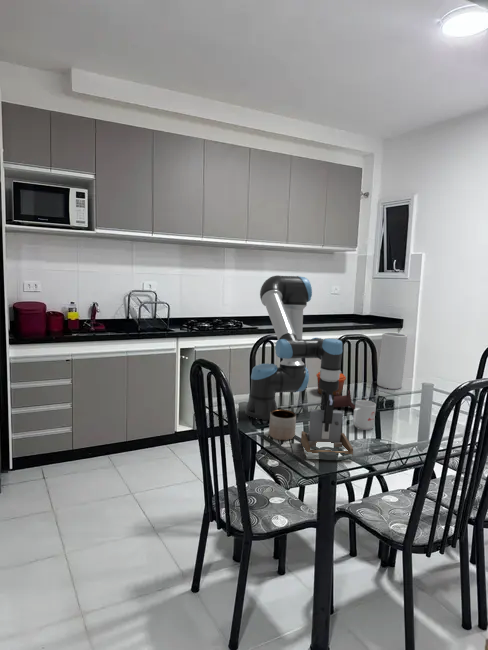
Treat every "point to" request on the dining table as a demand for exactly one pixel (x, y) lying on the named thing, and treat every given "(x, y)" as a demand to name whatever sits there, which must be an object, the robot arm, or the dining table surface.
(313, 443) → the carcass
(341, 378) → the food container
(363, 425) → the mug
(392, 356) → the vase
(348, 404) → the bracket
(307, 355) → the robot arm
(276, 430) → the planter
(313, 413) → the door
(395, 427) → the dining table surface
